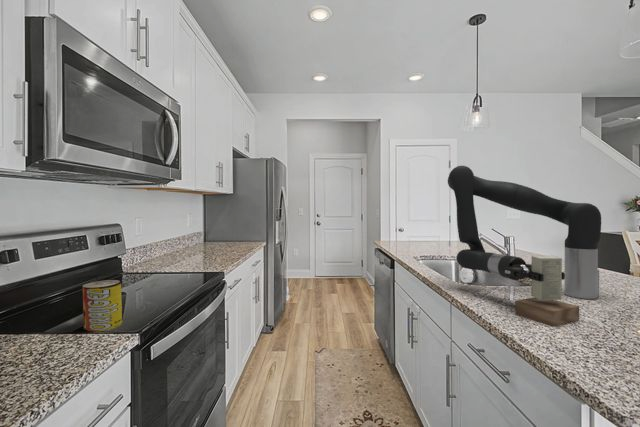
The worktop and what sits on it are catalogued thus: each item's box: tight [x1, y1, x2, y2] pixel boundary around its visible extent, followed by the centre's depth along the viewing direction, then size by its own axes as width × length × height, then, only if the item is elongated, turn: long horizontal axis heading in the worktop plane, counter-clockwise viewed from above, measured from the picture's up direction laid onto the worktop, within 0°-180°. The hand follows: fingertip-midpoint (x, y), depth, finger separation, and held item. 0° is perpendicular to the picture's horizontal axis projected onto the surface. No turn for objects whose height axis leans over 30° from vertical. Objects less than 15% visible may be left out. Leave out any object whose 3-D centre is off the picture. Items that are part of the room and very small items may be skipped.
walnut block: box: [514, 297, 580, 328], centre depth 94 cm, size 11×11×4 cm
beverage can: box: [82, 279, 123, 333], centre depth 91 cm, size 9×9×12 cm
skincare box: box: [530, 255, 563, 301], centre depth 93 cm, size 6×4×12 cm
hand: (553, 277), depth 91 cm, fingers closed on skincare box, 7 cm apart
